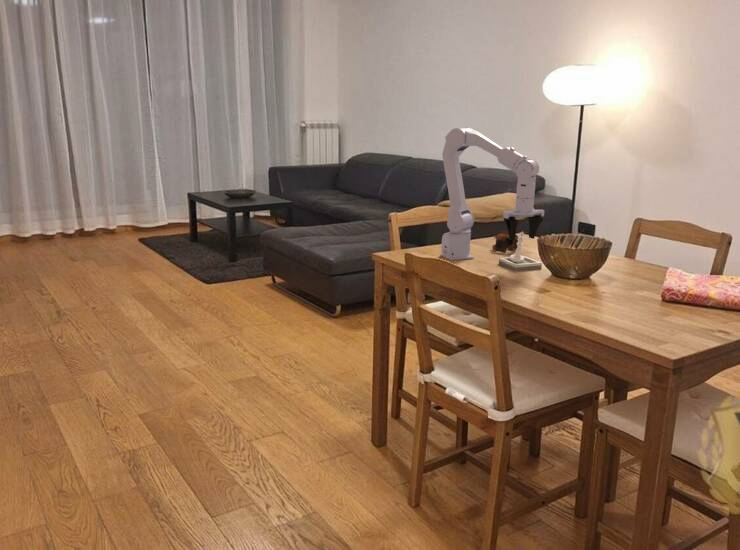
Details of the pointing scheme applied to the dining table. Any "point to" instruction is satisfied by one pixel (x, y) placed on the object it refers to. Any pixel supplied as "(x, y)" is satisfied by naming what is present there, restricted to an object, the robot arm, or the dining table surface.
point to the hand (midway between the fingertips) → (521, 238)
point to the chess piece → (518, 250)
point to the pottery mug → (504, 242)
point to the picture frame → (520, 264)
